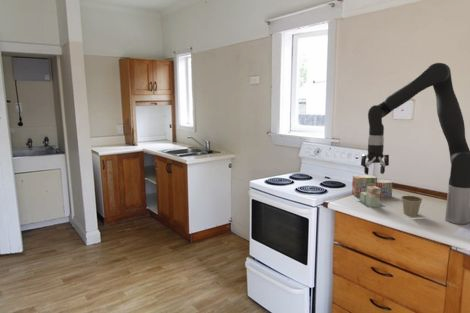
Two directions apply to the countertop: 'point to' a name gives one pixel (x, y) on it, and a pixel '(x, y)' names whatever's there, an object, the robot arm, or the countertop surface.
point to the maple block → (373, 192)
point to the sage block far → (363, 197)
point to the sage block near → (372, 202)
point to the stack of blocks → (369, 180)
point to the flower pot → (411, 205)
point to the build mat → (370, 207)
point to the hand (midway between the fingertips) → (374, 173)
